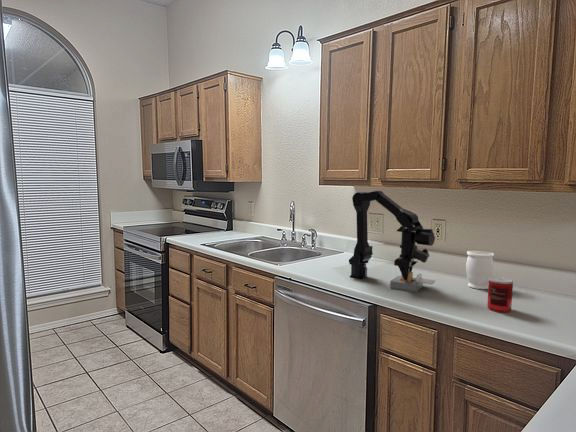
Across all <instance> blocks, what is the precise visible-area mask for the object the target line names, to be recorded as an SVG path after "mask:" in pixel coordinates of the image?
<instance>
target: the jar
mask: <svg viewBox="0 0 576 432" xmlns="http://www.w3.org/2000/svg"><path fill="white" fill-rule="evenodd" d="M466 255H467V259H466V262H465V263H466V264H465V268H466V269H465V270H466V277H467V280H468V283H467V286H468V287H469V288H472V289H477V290H488V284H489V278H490V277H493V276H492V275H493V271H494V259H493V258H494V256H495V253H493V252H490V251H484V250H467V251H466Z"/></svg>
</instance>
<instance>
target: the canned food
mask: <svg viewBox="0 0 576 432" xmlns="http://www.w3.org/2000/svg"><path fill="white" fill-rule="evenodd" d="M513 288H514V281H513V280H512V279H511V278H508V277H502V276H492V277H490V278H489V284H488V289H487V303H486V305H487V308H488V309H489V310H490V311H492V312H496V313H505V314H507V313H510V312H511V310H512V305H513V304H512V303H513V302H512V301H513V290H514V289H513Z"/></svg>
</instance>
